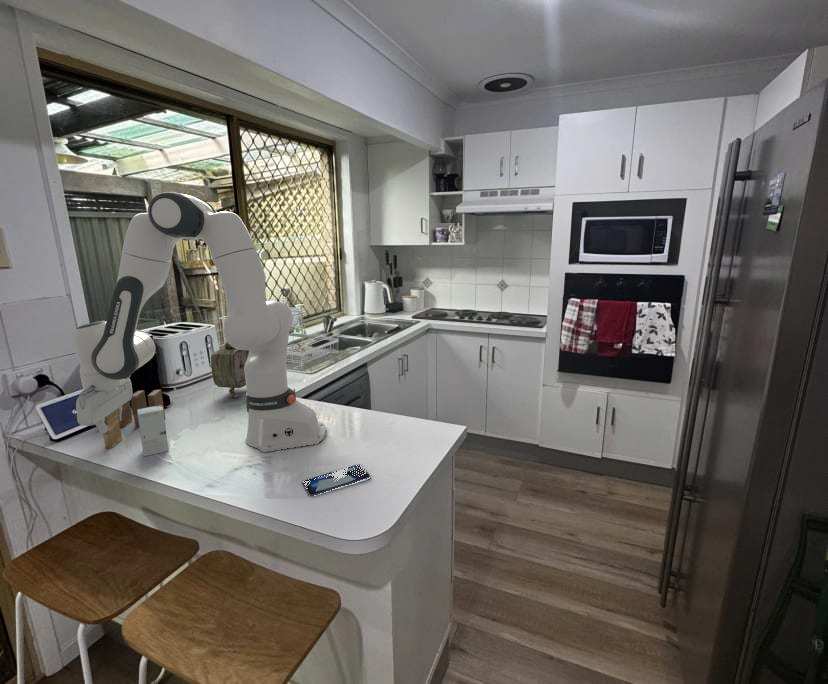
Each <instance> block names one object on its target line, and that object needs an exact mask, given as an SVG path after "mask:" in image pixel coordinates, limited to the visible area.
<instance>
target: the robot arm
mask: <svg viewBox="0 0 828 684" xmlns="http://www.w3.org/2000/svg"><path fill="white" fill-rule="evenodd" d="M180 241H202V242H204V243H205V244H206V246H207V248H208V250H209V253H210V256H211V258H212V260H213V263H214V265H215V269H216V271H217V273H218V276H219V279H220V282H221V286H222V287H223V292H224V298H225V307H226V309H225V310H226V318H225V322H224V323H223V328H222V329H223V336H225V337H224V339H225V338H226V339H225V340H226V341H227V342H228V343H229V344H230V345H231V346H232V347H234V348H236V349H239V350H249V354H248V358H247V360H246V363H245V366H244V372H245V381H246V385H245V388H246V393H245V409H246V412H247V413H248V414H247V417H248V418H247V420H248V421H247V433H246V438H245V443H246V444H247V445H248V446H250V447H252V448H256V449H258V450H259V451H260V452H262V453H268V451H269V452H275V450H276V451H281V449H283V450H288V449H287V448H289V449H294V447H296V448H302V447H301V446H303V447H307V446H306V445H309V446H314V445H313V444H315V445H318V444H319V442H320V441H321V440H322V439H323V438H324V439H325V437H326V435H327V428H326V425H325V423H324V422H322V421H318V417H317V414H316V411H314V408H311V407H309V406H308V405H306V404H304V403H302V402H301V401H299V400H297V395H296V392H297V391H296V388H293V389H291V388H289V387H288V376H287V353H288V352H287V351H288V347H289V346H288V344H289V337H290V336H289V335H290V330H291V327H292V325H293V320H294V319H293V318H294V316H293V312H292V309H291V308H290V307H289V306H288V305H287V304H285V303H284V302H281V301H276V300H266V293H265V291H266V290H265V284H266V279H267V277H266V276H267V275H266V273H265V270H264V268H263V264H262V262H261V260H260V256H259V254H258V251H257V248H256V246H255V243H254V240H253V239H252V237H251V234H250V233H249V230H248V228H247V227H246V224H244V222H243V220H242V219H241V217H240V216H239V215H238V214H236V213H234V212H231V211H219V212H217V210H216V209H215V208H214V207H213V206H212V205H211V204H210V203H208V202H207V201H205V200H201V199H198V198H197V197H195V196H192V195H189V194H186V193H185V194H184V193H179V192H176V191H165V192H161V193H159V194H156V195H155V196H154V197H153V198H152V199H151V200H150V202H149V203H148V208H147V212H141V213H137V214H136V215H134V216H132V218H131V220H130V222H129V225H128V227H127V230H126V233H125V237H124V239H123V245H122V248H121V249H122V251H121V256H120V263H119V269H118V276H117V279H116V283H115V287H114V290H113V294H112V297H111V300H110V304H109V305H110V306H109V308H108V309H109V310H108V314H107V318H106V320H98V321H93V322H88V323H85V324H82V325H79V326H78V327H76V329H75V330H74V332H73V344H74V351H75V356H76V360H77V361H78V362H79V363H78V364H79V377H80V380H81V385H82V390H81V391H80V392H79V395H78V397H77V399H76V402H75V409H76V410H75V411H76V420H77V423H78V424H79V425H80V426H82V427H84V426H85V427H87V426H88V427H89V426H90V427H91V426H95V427H97V428H98V432H99V434H103V433H106V432H107V431H108V430H109V426H108V425H106V424H105V423H104V421H105V417H106V416H108V415H109V414H111V413H112V412H113V411H115V410H116V409H117V414H118V419H119V422H120V421H121V420H122V419H121V413H122V405H124V404H125V403H126V402H128V401H129V402H130V401H131V398H132V395H133V387H132V386H133V385H132V381H131V379H130V378H131V376H132V374H133V373H135V371H137V370H138V369H139V368H141V367H143V366H144V365H145V364H146V363H148V362H149V361H151V359H152V358H153V357H154V356H155V354H156V351H157V346H156V343H155V341H154V339H153V338H152V337H151V336H150V335H149V334H148V333H146V332H143V331H138V330H137V326H138V322H139V319H140V315H141V311H142V309H143V307H144V305H145V304H146V302H147V301H148V300H149V299H150V298H151V297H153V295H154V294H155V293H156V292H158V291H159V290H161V288H162V287H163V286H164V285H165V283H166V282H167V278H168V277H169V273H170V271H171V270H170V269H171V265H172V258H173V253H174V248H175V245H176V244H177V243H178V242H180ZM136 330H137V331H136ZM325 434H326V435H325ZM324 436H325V437H324ZM324 439H323V440H324ZM323 440H322V441H323ZM322 441H321V442H322ZM321 442H320V443H321ZM317 443H318V444H317Z"/></svg>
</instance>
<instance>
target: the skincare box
mask: <svg viewBox="0 0 828 684" xmlns="http://www.w3.org/2000/svg"><path fill="white" fill-rule="evenodd" d="M163 406H164V405H163ZM163 406H162V405H161V406H155V407H149V406H147V408H143V409H138V410H137V412H138V420H139V434H140V441H141V445H142V446H141V448H142V454H143V456H144V457H146V456H152V455H157V454H161V453H165V452H168V451H169V443H168V435H167V434H168V433H167V429H166V419H164V412H165V410H164V411H163Z"/></svg>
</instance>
